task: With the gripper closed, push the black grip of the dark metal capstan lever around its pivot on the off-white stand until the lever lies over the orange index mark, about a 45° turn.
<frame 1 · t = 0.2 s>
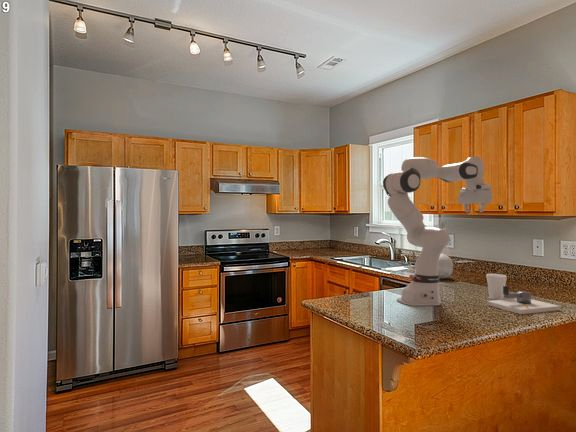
hand: (474, 212, 200), 47 cm above the worktop, tool pointing down, fingers open, 8 cm apart
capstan: (516, 294, 180), point 7 cm above the worktop, hinge at 0.0°
stand: (522, 307, 180), on the worktop
foam cup: (496, 299, 198), on the worktop
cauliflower: (434, 277, 265), on the worktop
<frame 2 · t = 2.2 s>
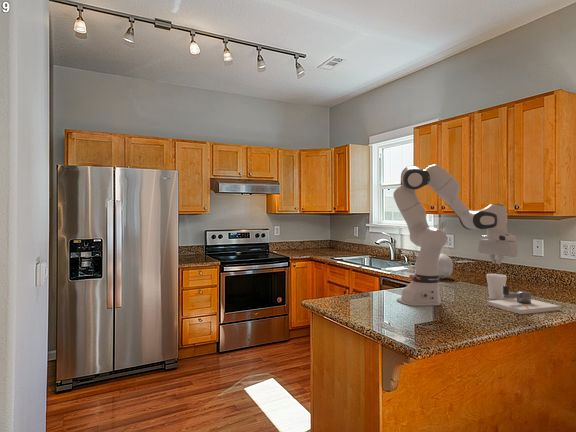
hand: (496, 263, 183), 21 cm above the worktop, tool pointing down, fingers closed
nothing on the worktop moved.
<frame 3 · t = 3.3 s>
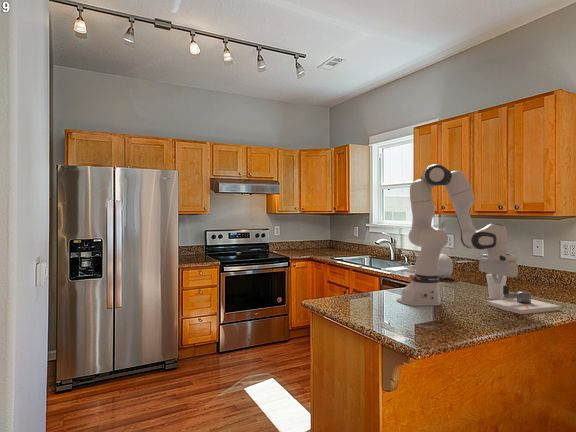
hand: (497, 283, 183), 11 cm above the worktop, tool pointing down, fingers closed
nothing on the worktop moved.
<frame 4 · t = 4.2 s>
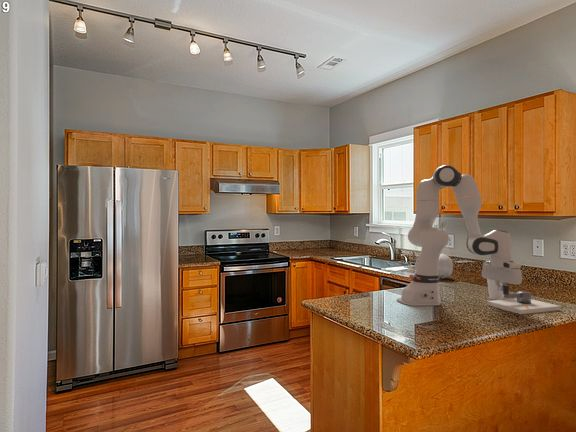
hand: (500, 290, 181), 8 cm above the worktop, tool pointing down, fingers closed
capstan: (516, 294, 180), point 7 cm above the worktop, hinge at 0.0°, touching gripper
everything else where it was.
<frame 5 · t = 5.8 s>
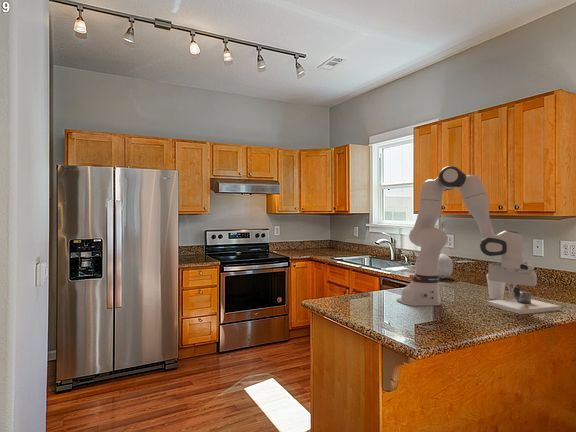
hand: (511, 292, 175), 8 cm above the worktop, tool pointing down, fingers closed
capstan: (521, 294, 178), point 7 cm above the worktop, hinge at 25.2°, touching gripper
everything else where it was.
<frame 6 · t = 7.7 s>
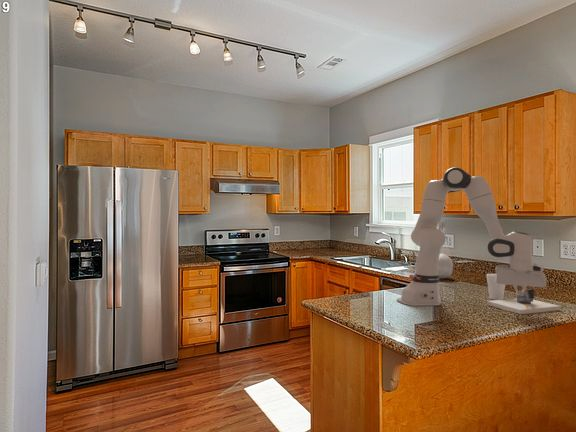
hand: (519, 295, 172), 8 cm above the worktop, tool pointing down, fingers closed
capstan: (526, 295, 177), point 7 cm above the worktop, hinge at 51.7°
everything else where it was.
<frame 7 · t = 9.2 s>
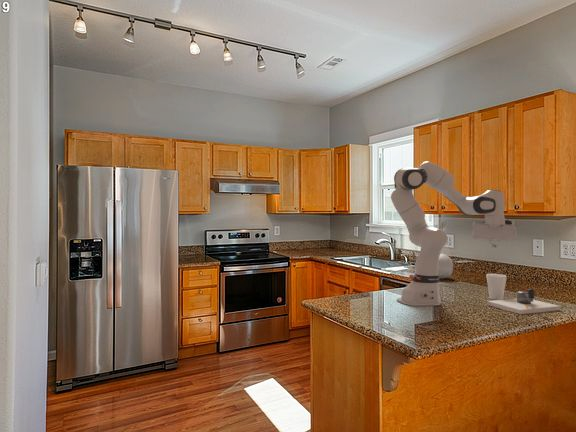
hand: (493, 247, 189), 29 cm above the worktop, tool pointing down, fingers closed
nothing on the worktop moved.
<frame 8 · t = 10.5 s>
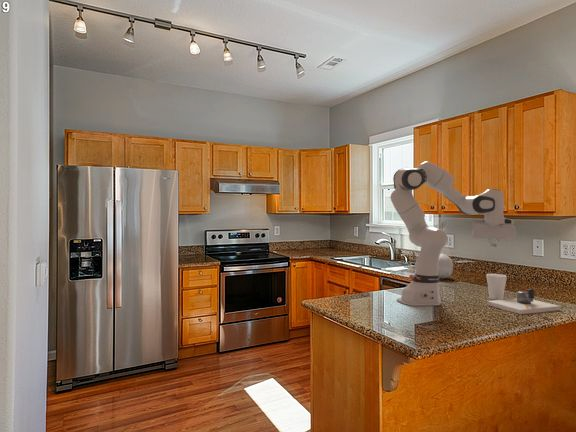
hand: (493, 246, 189), 29 cm above the worktop, tool pointing down, fingers closed
nothing on the worktop moved.
at the end: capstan at +52° (first picture: +0°); foam cup moved 0.2 cm from its start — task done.
